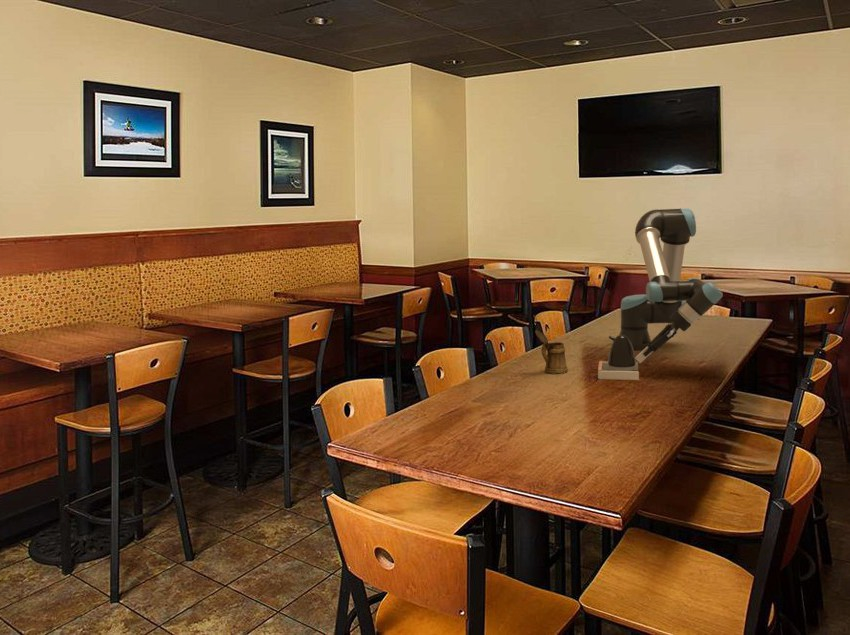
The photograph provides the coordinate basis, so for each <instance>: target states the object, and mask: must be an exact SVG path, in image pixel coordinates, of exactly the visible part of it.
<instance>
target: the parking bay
mask: <svg viewBox="0 0 850 635" xmlns="http://www.w3.org/2000/svg"><path fill="white" fill-rule="evenodd" d="M598 361H599V362H598V368H597V379H598V380H621V381H622V380H623V381H624V380H625V381H626V380H627V381H639V380H640V378H639V377H640V372H639V362H638V361H635V362H636V364H635V366H634V369H633V371H611V370H610V367H609V365H608V361H603V360H598Z"/></svg>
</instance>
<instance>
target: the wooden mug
mask: <svg viewBox="0 0 850 635" xmlns="http://www.w3.org/2000/svg"><path fill="white" fill-rule="evenodd" d="M534 332H535V335H536V337H537V338H538V339H539V340H540V341H541V342H542V343H543V344H542V345H541V355H542V358H543V360H544V361H545V366H544V372H545V371H546V372H545V373H547V372H549V373H548V374H550V373H563V374H565V373H564V372H566V373H568V372H569V371H568V369H569V368H568V366H567V360H566V353H565V352H566V348H565V346H564V343H563V342H560V341H559V342H557V341H555V342H549V340H548V338H547V336H546V335H545V334H544V333H543V332H542V331H541V330H539V329H537V328H536V329H535V331H534ZM567 371H568V372H567Z"/></svg>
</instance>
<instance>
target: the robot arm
mask: <svg viewBox="0 0 850 635" xmlns="http://www.w3.org/2000/svg"><path fill="white" fill-rule="evenodd" d="M639 218H640V219H639V220H638V222H637V223H636V226H635V232H634V235H635V240H636V242H637V243H638V244H639V246H640V249H641V252H642V257H643V261H644V265H645V269H646V271H647V277H648V280H649V282H647V284H646V285H645V286H646V287H645V293H646V294H633V295H627V296H625V297H623V298H622V299H621V301H620V332H619V334H618V335H625V336H627V337H628V338H629V340H630V342H631V344H632V347H633V350H634V351H641V352H639V353H638V354H637V355H635V361H636V362H638V364H642V362H644V361H645V360H646V359H647V358H648V357H649V356H650V355H651V354H652V353H653V352H654V353H655V352H656V351H657V350H658V349H659V348H661V347H662V346H663V345H665V344H666V342H667V343H668V341H669V340H671V339H672V338H674V336H675V335H676V334H678V332H677V331H678V330H679V329H680V330H681V331H683V332H686V331H687V330H688V329H689V328H690V327H691V326H692V324H694V323H695V322H697V321H700V320H701V319H700V318H701V317H702V316H703V315H705V314H706V312H708V311H709V310H710V309H711V308H712V307H714V305H716V304H717V303H718V302H719V301H720V300H721V299H722V298H723V296H724V295H723V292H722V291H720V289H719V288H717V286H715V285H714V284H713V283H712V281H711V282H710V281H708V282H706V283H705V282H704V281H702V280H701V279H699V278H697V277H691V278H688V279H686V280H682V281H681V276H682V269H683V261H684V254H685V246H686V245H687V244H689V243H690V240H691V238H692V237H695V236H696V232H697V223H696V221H697V220H696V217H695V214H694V212H693V210H692V209H691V208H681V207H680V208H666V209H662V208H661V209H657V208H656V209H652V210H649V211H647V212H645V213H644V214H643V215H642V216H641V217H639ZM661 243H663V248H662V245H661ZM650 324H667V325H665V327H664V328H663V329H662V330H661V331H660V332H659V333H658V334H657V335H656V336H655V337H653V339H652V340H651V337H650V333H649V329H648V328H649V327H648V325H650Z"/></svg>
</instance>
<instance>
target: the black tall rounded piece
mask: <svg viewBox="0 0 850 635" xmlns="http://www.w3.org/2000/svg"><path fill="white" fill-rule="evenodd" d="M608 338H609V340H611V341H612V343H611V346H610V349H609V353H608V359H607V362H608V365H609V367H610V370H609V371H634V370H633V369H634V366H635V364H636V362H637V361H636V359H635V357H636V355H635V354H636V353H635V350H633V347H632V344H631V342H630V340H629V338H628V337H627V336H625V335H619V334H618V335H617V336H616V337H614V336H612V335H609V336H608Z"/></svg>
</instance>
